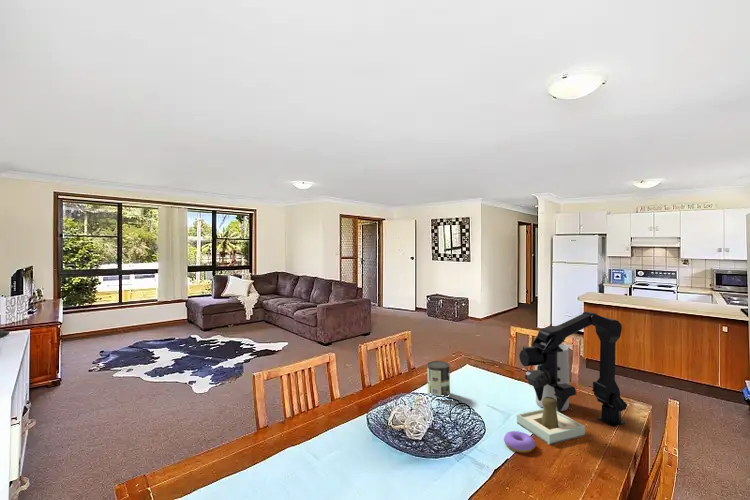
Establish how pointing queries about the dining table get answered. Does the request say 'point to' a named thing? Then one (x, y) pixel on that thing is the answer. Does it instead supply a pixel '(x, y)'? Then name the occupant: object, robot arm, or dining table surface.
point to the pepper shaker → (549, 413)
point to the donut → (519, 441)
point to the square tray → (563, 433)
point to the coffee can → (438, 378)
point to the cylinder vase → (562, 374)
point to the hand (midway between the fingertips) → (549, 405)
